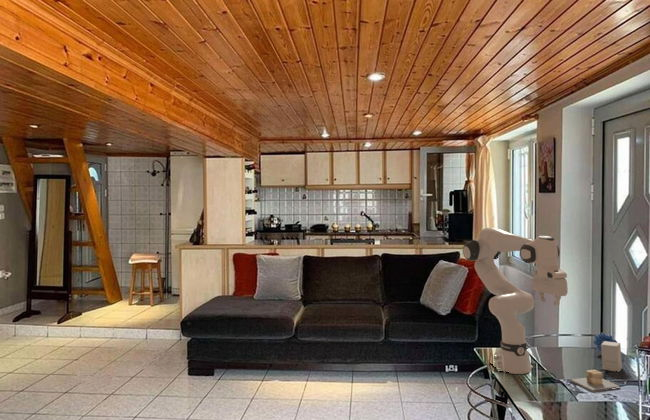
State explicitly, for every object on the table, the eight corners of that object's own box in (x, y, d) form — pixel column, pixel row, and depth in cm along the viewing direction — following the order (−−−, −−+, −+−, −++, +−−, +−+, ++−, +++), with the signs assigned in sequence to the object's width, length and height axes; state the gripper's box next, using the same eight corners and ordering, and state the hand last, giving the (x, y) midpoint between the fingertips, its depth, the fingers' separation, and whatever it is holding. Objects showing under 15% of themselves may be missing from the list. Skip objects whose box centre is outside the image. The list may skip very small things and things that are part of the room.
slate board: (570, 381, 224) (570, 379, 224) (597, 378, 227) (597, 376, 227) (592, 392, 210) (592, 389, 210) (620, 388, 213) (620, 386, 213)
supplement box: (622, 368, 239) (621, 342, 239) (619, 372, 233) (617, 346, 233) (605, 365, 244) (604, 340, 244) (602, 369, 238) (600, 344, 238)
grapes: (594, 356, 259) (592, 334, 259) (594, 352, 265) (592, 331, 265) (619, 358, 254) (617, 335, 254) (618, 354, 259) (617, 332, 260)
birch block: (586, 381, 220) (586, 370, 221) (595, 380, 221) (594, 369, 221) (593, 384, 216) (593, 373, 216) (602, 383, 217) (602, 372, 217)
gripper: (527, 270, 224) (529, 300, 224) (556, 275, 204) (558, 307, 204) (540, 269, 225) (541, 298, 225) (569, 274, 205) (571, 306, 205)
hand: (549, 303), depth 214 cm, fingers open, 8 cm apart
